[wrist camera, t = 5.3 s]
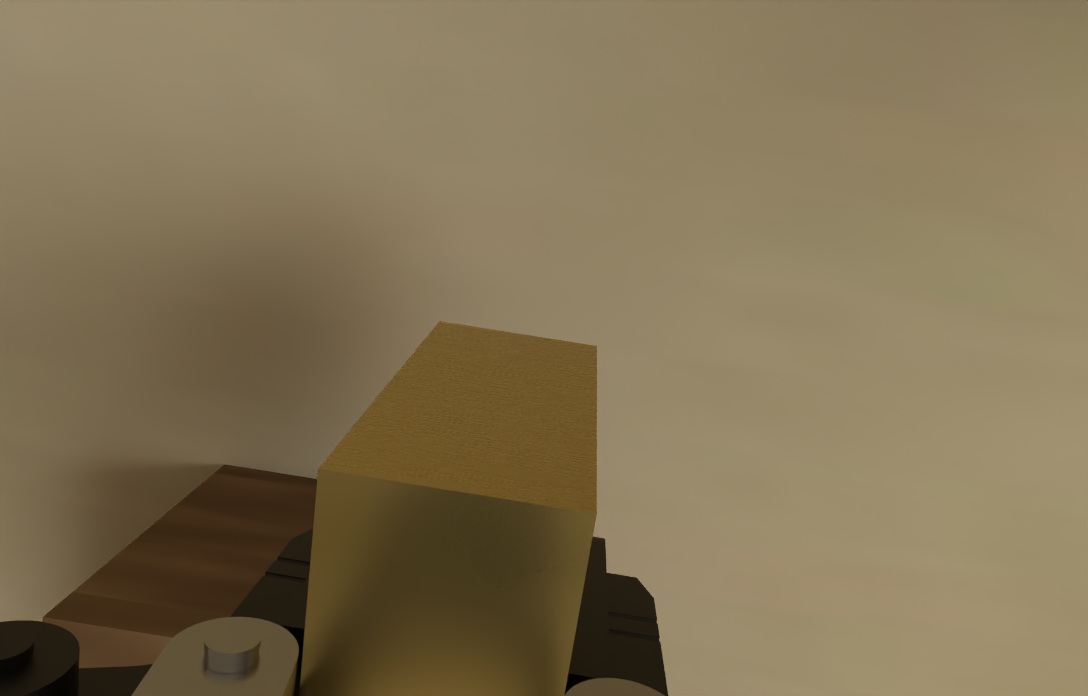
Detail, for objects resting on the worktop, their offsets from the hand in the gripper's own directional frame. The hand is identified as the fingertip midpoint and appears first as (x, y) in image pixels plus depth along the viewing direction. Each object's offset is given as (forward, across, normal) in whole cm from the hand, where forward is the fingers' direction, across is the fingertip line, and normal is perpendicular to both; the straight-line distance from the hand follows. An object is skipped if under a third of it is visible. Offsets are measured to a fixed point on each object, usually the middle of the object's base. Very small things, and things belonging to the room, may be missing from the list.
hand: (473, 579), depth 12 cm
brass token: (+2, 0, 0) cm, 2 cm away
